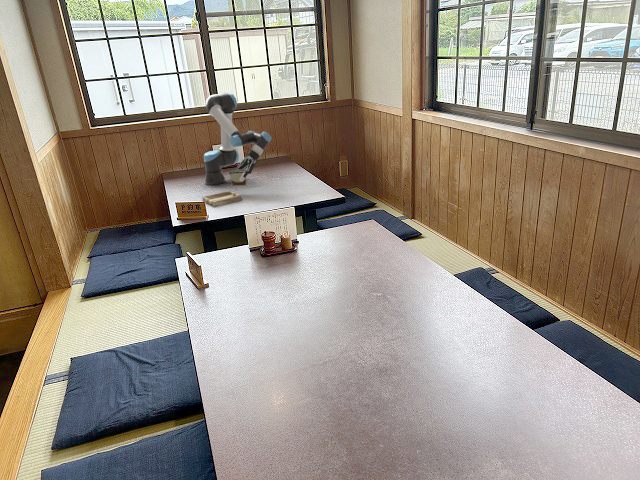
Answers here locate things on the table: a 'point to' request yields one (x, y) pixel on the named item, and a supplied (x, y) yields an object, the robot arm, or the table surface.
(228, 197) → the tray
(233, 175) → the food container
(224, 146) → the robot arm
